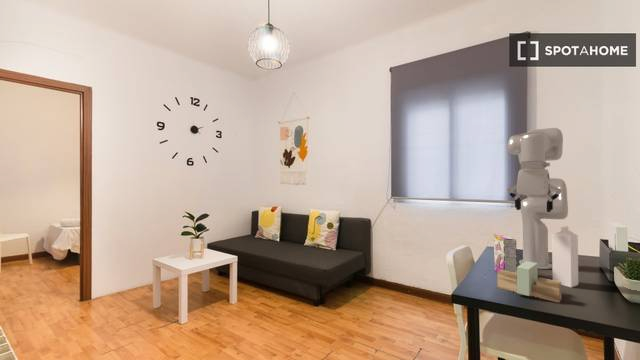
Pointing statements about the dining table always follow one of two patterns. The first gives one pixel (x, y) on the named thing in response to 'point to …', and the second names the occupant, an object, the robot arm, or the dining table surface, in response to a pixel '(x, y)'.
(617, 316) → the dining table surface
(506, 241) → the candy bar box
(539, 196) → the robot arm
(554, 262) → the milk
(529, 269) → the pale green rectangular block
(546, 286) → the oak rail
